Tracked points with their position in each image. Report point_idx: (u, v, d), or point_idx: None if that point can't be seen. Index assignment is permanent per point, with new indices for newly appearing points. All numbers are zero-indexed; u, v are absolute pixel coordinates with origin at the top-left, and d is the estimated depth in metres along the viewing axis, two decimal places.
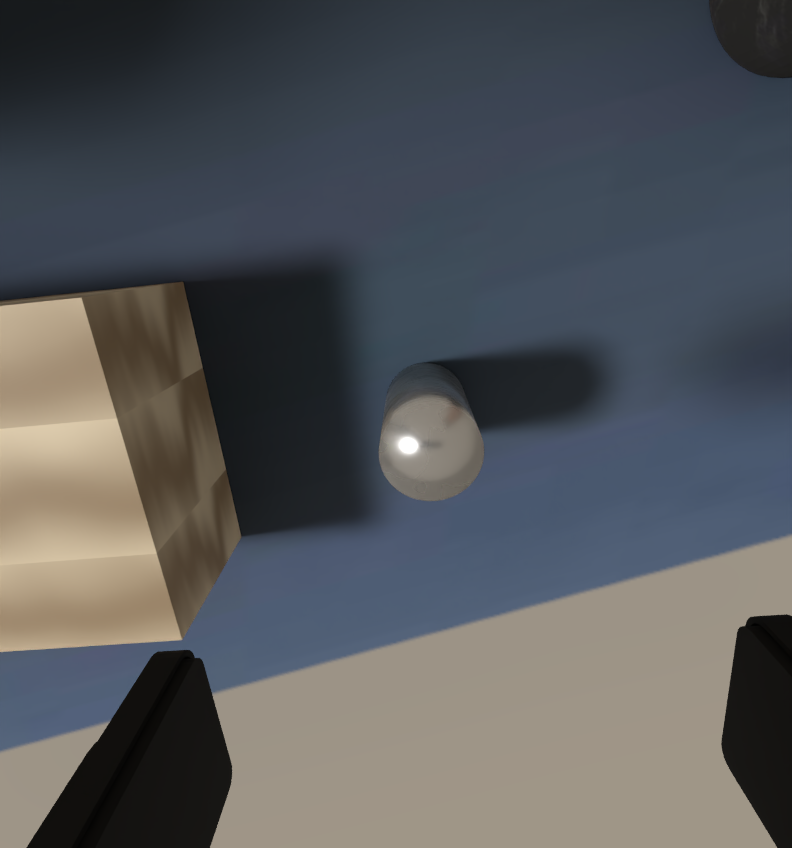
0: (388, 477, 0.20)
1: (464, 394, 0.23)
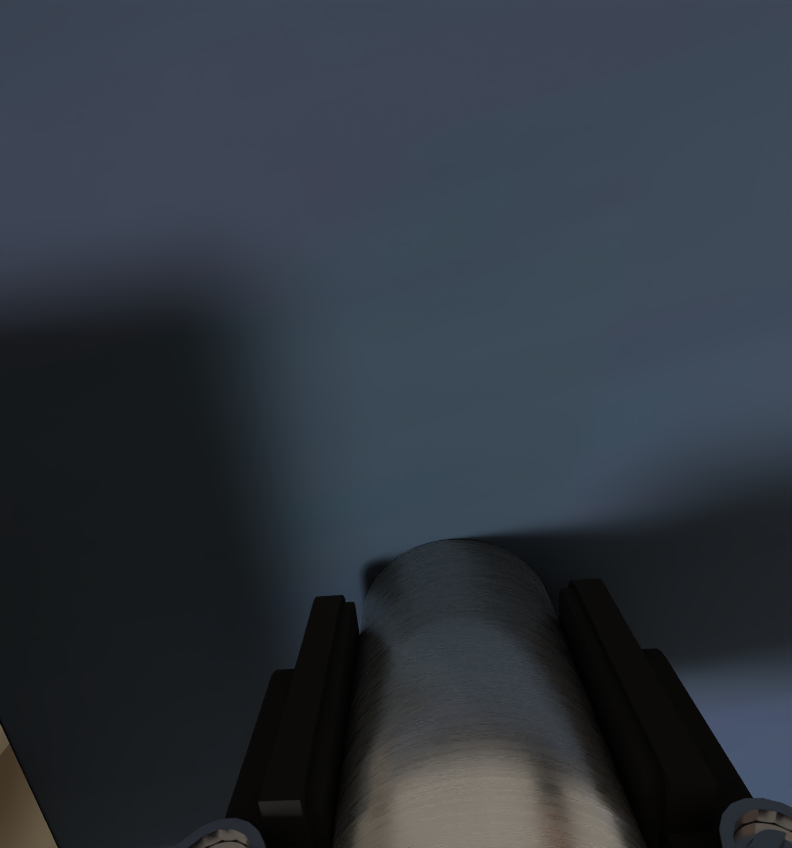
0: None
1: (577, 674, 0.08)
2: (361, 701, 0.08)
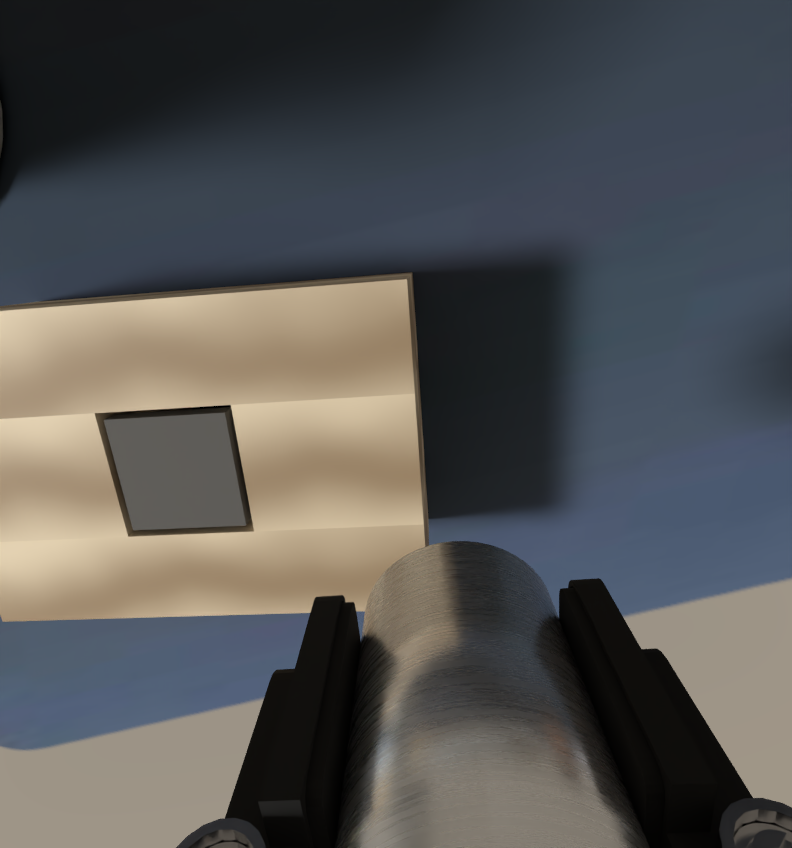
0: None
1: (580, 676, 0.08)
2: (364, 703, 0.08)
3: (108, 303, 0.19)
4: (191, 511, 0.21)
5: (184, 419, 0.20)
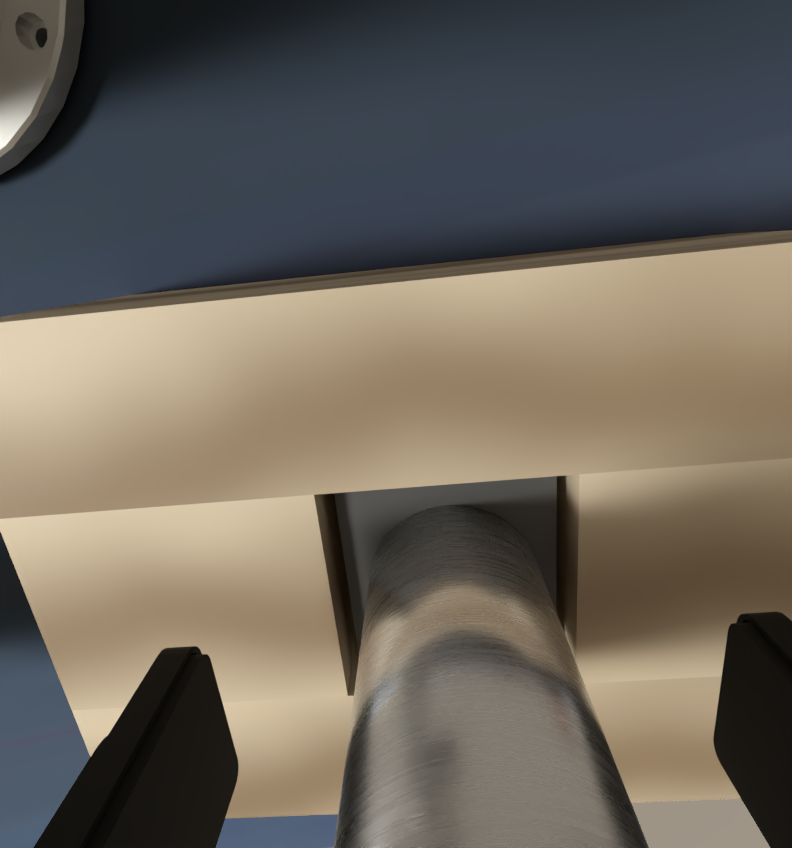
0: None
1: (555, 613, 0.10)
2: (371, 632, 0.09)
3: (369, 286, 0.09)
4: None
5: (480, 489, 0.11)
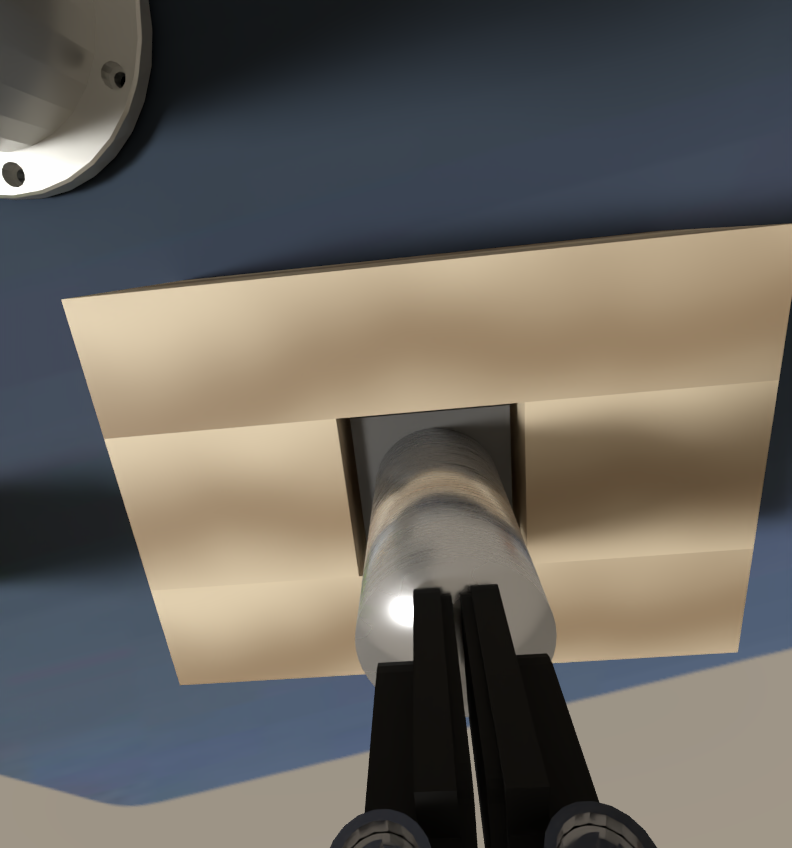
0: (374, 680, 0.10)
1: (503, 490, 0.14)
2: (378, 501, 0.14)
3: (376, 268, 0.14)
4: None
5: (455, 416, 0.16)
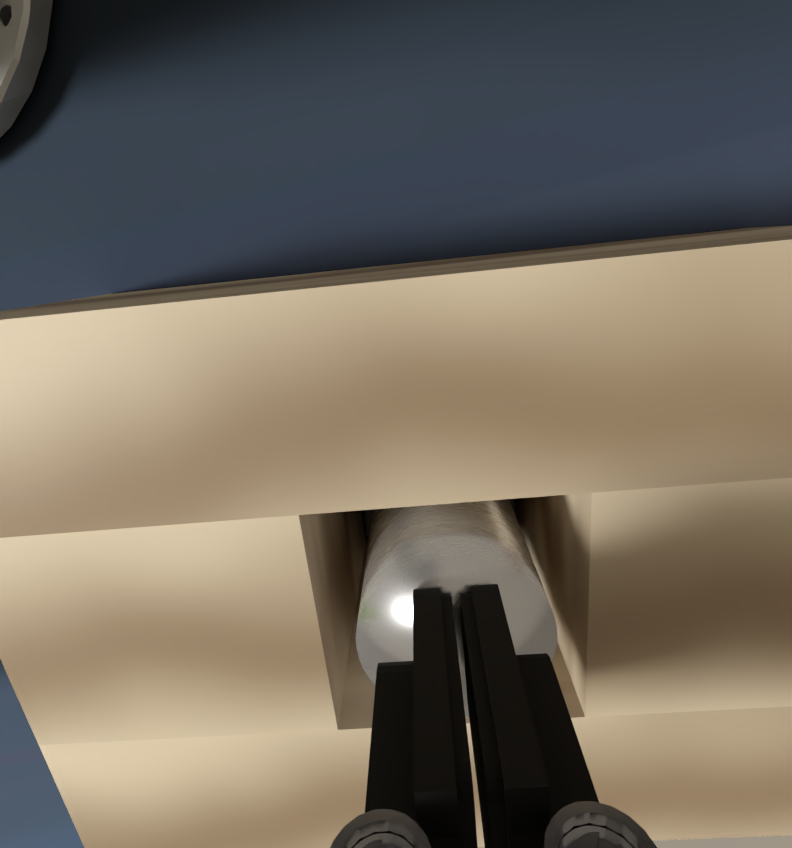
0: (374, 680, 0.10)
1: None
2: None
3: (357, 285, 0.08)
4: None
5: None
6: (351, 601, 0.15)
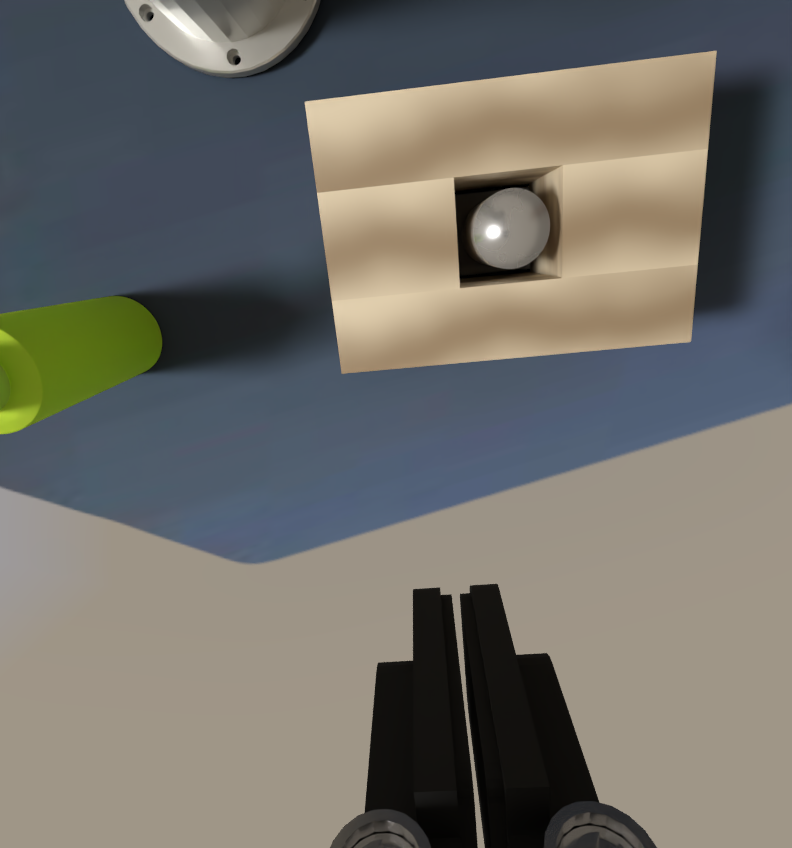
0: (479, 249, 0.27)
1: None
2: (471, 214, 0.30)
3: (482, 80, 0.25)
4: None
5: None
6: None
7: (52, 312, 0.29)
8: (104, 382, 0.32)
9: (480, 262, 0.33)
